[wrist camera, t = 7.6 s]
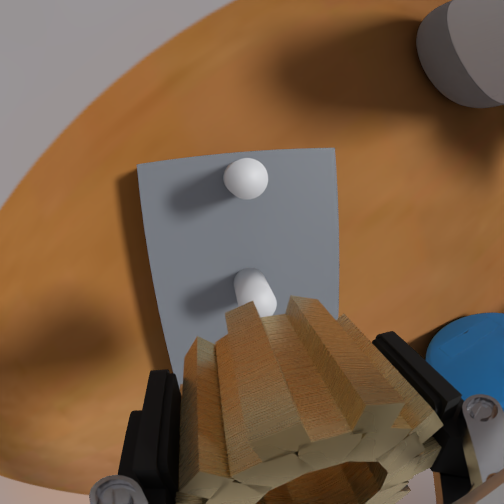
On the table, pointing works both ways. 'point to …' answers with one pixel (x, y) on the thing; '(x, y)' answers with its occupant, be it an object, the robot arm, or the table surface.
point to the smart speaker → (465, 51)
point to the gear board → (238, 237)
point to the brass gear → (298, 414)
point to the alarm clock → (471, 355)
